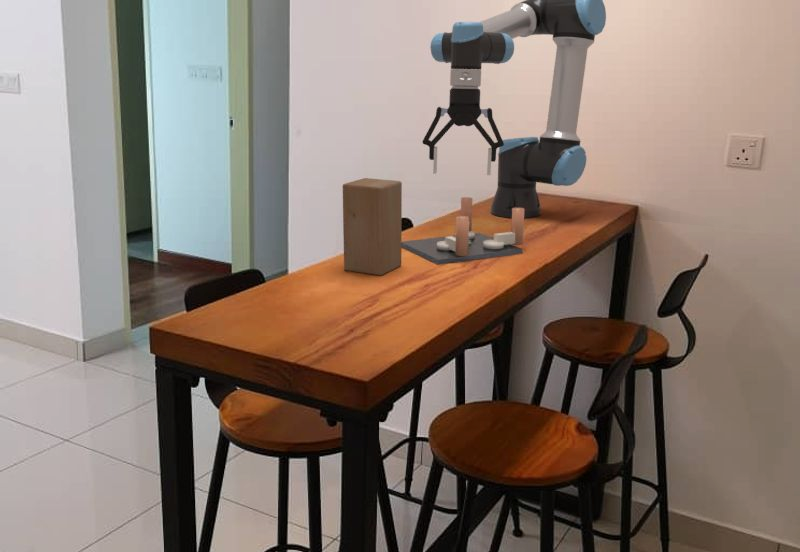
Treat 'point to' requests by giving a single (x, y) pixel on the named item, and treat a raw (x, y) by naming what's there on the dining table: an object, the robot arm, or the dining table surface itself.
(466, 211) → the knob
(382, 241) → the wooden block
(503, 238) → the knob
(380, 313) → the dining table surface
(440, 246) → the knob
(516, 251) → the base plate
